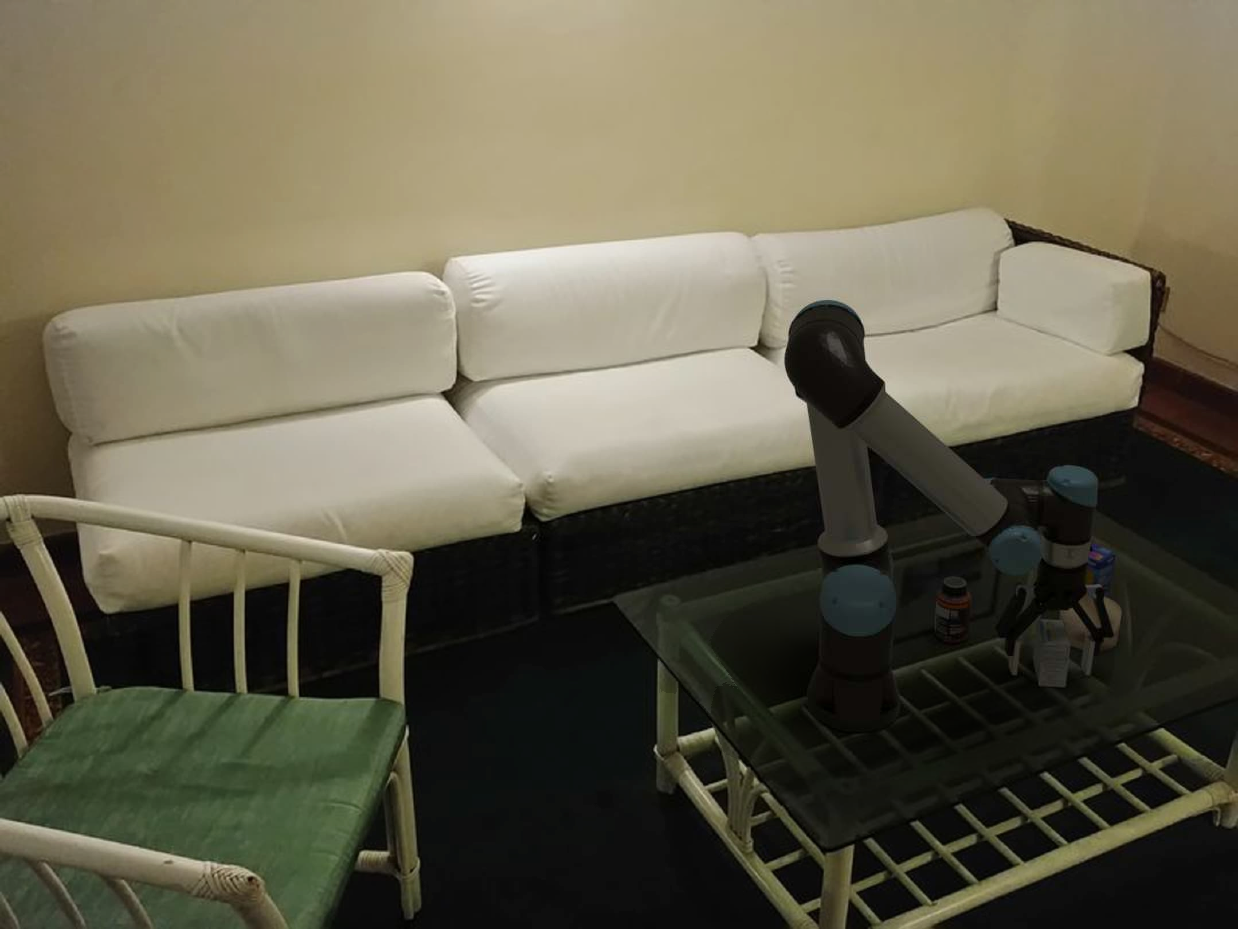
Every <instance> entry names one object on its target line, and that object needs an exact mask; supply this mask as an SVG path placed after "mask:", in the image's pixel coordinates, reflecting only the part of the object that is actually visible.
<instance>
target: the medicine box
mask: <svg viewBox="0 0 1238 929" xmlns="http://www.w3.org/2000/svg"><path fill="white" fill-rule="evenodd" d="M1036 620H1037V621H1036V627H1035V635H1034V645H1033V652H1032V663H1033V667H1034V670H1035V675H1036V680H1037V683H1038V686H1039V687H1048V688H1049V687H1050V688H1062V689H1063V688H1066V686H1067V684H1066V683H1067V678H1068V677H1067V676H1068V669H1069V662H1070V661H1069V660H1070V659H1069V658H1070V651H1071V646H1070V643H1069V639H1068V636H1067V632H1066V628H1065V625H1064V621H1061V620H1059V619H1051V618H1049V619H1047V618H1045V619H1043V618H1041V619H1039V618H1038V619H1036Z"/></svg>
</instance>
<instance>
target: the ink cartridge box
mask: <svg viewBox="0 0 1238 929" xmlns="http://www.w3.org/2000/svg"><path fill="white" fill-rule="evenodd" d="M1115 559H1116V552H1115V551H1114V550H1112V549H1110V548H1107V547H1103V546H1101V545H1098V544H1096V543H1092V542H1091V544H1090V551H1089V558H1088V561H1087V563H1088V567H1087V574H1086V581H1085V585H1093V583H1094V582H1099V583H1100V585H1101V586H1102V588H1103V589H1104V591H1105V593H1104V597H1107V598H1109V599H1110V595H1111V589H1112V582H1113V574H1114V573H1113V572H1114V567H1115Z"/></svg>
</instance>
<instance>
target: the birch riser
mask: <svg viewBox="0 0 1238 929" xmlns="http://www.w3.org/2000/svg"><path fill="white" fill-rule="evenodd" d="M1079 603H1080V605H1081V606H1082V607H1083V609H1084V610H1085V612H1086V613H1087V615H1088V616H1089V618H1090V619H1091V620H1092V622H1093V623H1094V625H1095V626H1096V628H1097V629H1098V628H1101V624H1100V620H1099V617H1098V614H1097V611H1096V608H1095V605H1094V602H1093V598H1091V597H1090V596H1089V594H1088V593H1086V595H1085V596H1084V597H1083V598H1082V599H1081V600H1080V601H1079ZM1104 604H1105V607H1106V610H1107V614H1108V617H1109V620H1110V623H1111V626H1112V629H1113V633H1114V636H1113V637H1112V638H1108V637H1106V638H1103V639H1104V642H1103V643H1102V644H1100V650H1099V652H1104V651H1107V650H1110V649H1113V648H1114V647H1115V646H1116V645H1117V643H1118V638H1119V632H1120V627H1121V618H1122V612H1123V611H1122V608H1121V607H1120V605H1119V604H1118V603H1117V602H1115V601H1114V600H1113V599H1111V598H1110V597H1109V598H1107V597H1104ZM1058 620H1061V621H1064V625H1065V628H1066V632H1067V636H1068V639H1069V643H1070V647H1073V648H1076V649H1079V650H1082V651H1083V648H1084V641H1085V634H1091V633H1090V632H1089V630H1088V629H1087V628H1086V626H1085V625H1084V623H1083V622H1082V621H1081V619H1080V618H1079V616H1078V615H1077V614H1076V612H1075V611H1074V609H1073V608H1071V609H1069V610H1068V611H1064V610H1059V617H1058Z"/></svg>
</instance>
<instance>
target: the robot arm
mask: <svg viewBox="0 0 1238 929" xmlns="http://www.w3.org/2000/svg"><path fill="white" fill-rule="evenodd" d="M865 331H866V330H865V326H864V324H863V322H862V320H861V317H860V316H859V315H858V313H857V312H856V311H855V310H854V309H853V308H852V307H850V305H847V304H846V303H844V302H841V301H838V300H833V299H822V300H816V301H814V302H811V303H809V304H807V305H806V306H804V307H802V309H801V310H800V311H798V312H797V313H796V315H795V316H794V318H793V320H792V321H791V323H790V325H789V329H788V334H787V335H788V338H787V339H788V340H787V342H786V343H787V345H786V348H785V351H784V356H783V358H784V362H783V363H784V369H785V372H786V375H787V378H788V380H789V382H790V383H791V384H792V386H793V388H794V392H795V396H796V397H797V398H798V399H800V400H801V401H802V402H804V403H806V407H807V415H808V422H809V429H810V436H811V442H812V450H813V456H814V462H815V470H816V478H817V483H818V489H819V497H820V503H821V510H822V518H823V525H824V531H823V532H822V533H821V534H820V535H819V538H818V539H817V545H818V546H817V547H818V551H819V552H818V553H819V560H820V567H821V573H822V584H821V590H820V592H819V609H820V611H819V640H818V642H819V643H818V662H817V665H816V667H815V670H814V671H813V674H812V676H811V678H810V681H809V684H808V685H807V691H806V705H807V709H808V711H809V713H810V714H811V715H812V716H813V717H814V719H815V720H817V721H818V722H820V723H822V724H823V725H825V726H827V727H830V728H832V729H834V730H838V731H842V732H846V733H847V732H848V733H860V734H861V733H869V732H870V733H871V732H875V731H879V730H882V729H884V728H887V727H888V726H890V725H891V724H892V723H894V722H895V721H896V719H897V718H898V716H899V713H900V708H901V694H900V691H899V687H898V685H897V681H896V678H895V675H894V671H893V669H892V658H893V646H894V645H893V643H894V642H893V641H894V627H895V626H894V625H895V616H896V615H895V613H896V610H897V595H896V589H895V587H894V586H895V585H894V582H893V581H894V576H893V575H894V570H895V568H894V561H893V560H894V559H893V556H892V555H891V551H890V546H889V545H890V544H889V535H888V533H887V531H886V529H885V528H883V527H882V526H880V525H879V524H878V523H877V517H876V507H875V499H874V493H873V485H872V475H871V469H870V461H869V454H868V447H869V448H870V449H872V450H873V451H874V452H875V453H876V454H877V455H878V456H880V458H882V459H883V460H884V461H886V463H887V464H889V465H890V466H891V467H892V468H893V469H894V470H895V471H897V472H898V473H899V474H900V475H901V476H903V477H904V478H905V479H906V480H907V481H908V482H910V483H911V484H912V485H913V486H914V487H915V488H916V489H918V490H919V492H921V493H922V494H923V495H924V496H926V498H928V500H930V501H931V502H932V503H933V504H935V505H936V506H937V507H938V508H939V509H940V510H942V511H943V512H944V513H945V514H946V515H947V516H948V517H949V518H951V519H952V520H953V521H955V523H956V524H958V525H959V526H960V527H961V528H962V529H963V530H965V531H966V532H967V533H968V534H969V535H970V536H971V537H972V538H973V539H975V540H976V541H977V542H978V543H979V544H980V545H981V546H983V547H984V548H985V549H986V550H987V554H988V556H989V559H990V560H991V561H992V564H993V566H994V567H995V568H996V569H997V570H998V571H1000V572H1001V573H1004V574H1005V575H1009V576H1010V575H1011V576H1021V575H1026V574H1028V573H1031V572H1033V570H1034V569H1036V580H1035V582H1034V583H1033V584H1031V585H1029V584H1028V585H1027V584H1026V585H1024V584H1023V583H1022V582H1020V581H1018V582H1016V583H1015V585H1014V592H1013V595H1012V596H1011V598H1010V600H1009V602H1008V604H1007V606H1006V607H1005V609H1004V611H1003V613H1002V615H1001V616H1000V617H999V619H998V621H997V623H996V625H995V627H994V628H995V631H996V633H997V636H998V639H1005V644H1004V651H1005V653H1006V655H1007V657H1008V658H1009V659H1008V668H1009V671H1010V673H1011V675H1012V676H1017V675H1018V668H1019V659H1020V651H1021V644H1022V642H1021V640H1020V637H1021V635H1022V634H1024V632H1025V631H1026V630H1027V629H1028V628H1029V627H1030V626H1031V625H1032V624H1033V623H1034V622H1035V621H1036V620H1038V619H1037V618H1039V616H1042V615H1044V614H1045V613H1046V612H1047V611H1058V610H1059V611H1060V610H1064V611H1068V610H1069V609H1071V608H1073V609H1074V611H1075V612H1076V614H1077V615H1078V616H1079V618H1080V619H1081V621H1082V622H1083V623H1084V625H1085V626H1086V628H1087V629H1088V630H1089V632H1090V633H1091V634H1085V641H1084V648H1083V650H1082V656H1081V662H1080V667H1081V669H1082V671H1083V673H1084V675H1085V676H1090V675H1091V672H1092V667H1093V666H1092V665H1093V659H1094V657H1098V656H1099V654H1100V651H1099V650H1100V644H1102V643H1103V642H1104V639H1103V638H1106V637H1108V638H1112V637H1113V636H1114V633H1113V629H1112V626H1111V623H1110V620H1109V617H1108V614H1107V610H1106V607H1105V604H1104V593H1105V591H1104V589H1103V588H1102V586H1101V585H1100V583H1099V582H1094V583H1093V585H1085V581H1086V574H1087V567H1088V563H1087V561H1088V558H1089V551H1090V544H1091V543H1092V535H1093V527H1094V521H1095V513H1096V509H1097V505H1098V488H1099V479H1098V477H1097V476H1096V474H1095V473H1094V472H1093V471H1091V470H1090V469H1087V468H1086V467H1082V466H1078V465H1070V464H1069V465H1068V464H1065V465H1063V466H1055V467H1053V468H1052V469H1050V471H1049V472H1048V476H1047V477H1046V479H1040V480H1036V479H1035V480H1032V479H1013V478H1011V479H1010V478H996V477H991V478H988V477H987V478H984V477H982V476H981V475H980V474H979V473H978V472H977V471H976V470H975V469H974V468H972V467H971V466H970V464H968V463H967V462H965V461H964V460H963V459H962V458H961V457H960V456H959V455H958V454H956V452H954V451H953V450H952V449H951V448H950V447H949V446H947V444H945V443H944V442H943V441H942V440H940V438H939V437H937V435H935V434H934V433H933V432H931V431H930V429H928V427H926V426H925V425H924V424H923V423H922V422H920V421H919V419H917V418H916V417H915V416H914V415H912V414H911V413H910V412H909V410H907V409H906V408H905V407H903V406H902V405H901V404H900V403H899V402H898V401H896V399H895V398H893V397H892V396H891V395H890V394H889V393H888V392H887V391H886V390H887V389H886V382H885V380H883V378H882V377H880V376H879V375H878V374H877V373H876V372H875V371H874V370H873V369H872V368H871V366H870V365H869V363H868V362H867V359H866V352H865V351H866V350H865V337H866V332H865ZM1040 527H1041V528H1042V529H1041V534H1040V532H1039V529H1038V528H1040ZM1086 593H1088V594H1089V596H1090V597H1091V598H1093V602H1094V605H1095V608H1096V611H1097V614H1098V617H1099V620H1100V624H1101V628H1098V629H1097V628H1096V626H1095V625H1094V623H1093V622H1092V620H1091V619H1090V618H1089V616H1088V615H1087V613H1086V612H1085V610H1084V609H1083V607H1082V606H1081V605H1080V603H1079V601H1080V600H1081V599H1082V598H1083V597H1084V596H1085V595H1086ZM1033 594H1034V595H1035V596H1034V597H1033V598H1032V599H1031V601H1030V603H1029V605H1028V606H1027V607H1026V608H1025V609H1024V610H1022V608H1024V605H1025V602H1026V600H1029V599H1030V596H1031V595H1033ZM1021 611H1022V612H1021ZM1020 612H1021V613H1020Z"/></svg>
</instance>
